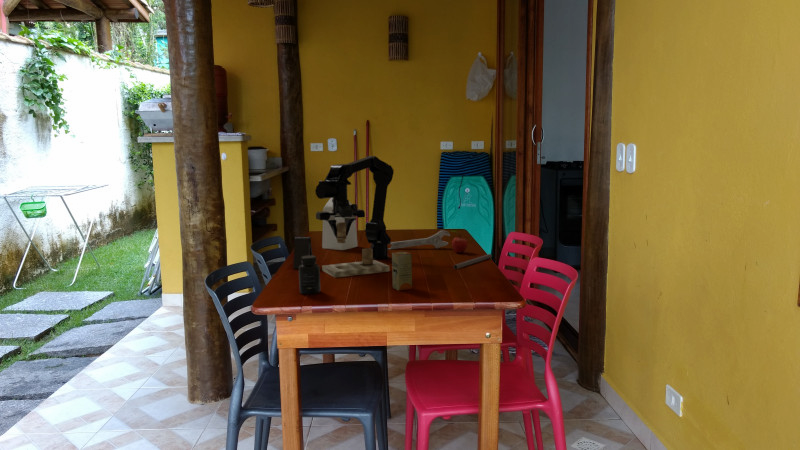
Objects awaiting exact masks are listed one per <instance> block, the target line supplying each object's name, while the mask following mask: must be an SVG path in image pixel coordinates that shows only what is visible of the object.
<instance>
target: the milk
mask: <svg viewBox="0 0 800 450" xmlns="http://www.w3.org/2000/svg"><path fill="white" fill-rule="evenodd" d="M332 199H333V198H328V201H327V202H326V204H325V205H324V207H323V209H322V211H326V212H329V213H333V212H332V210H333V202H332ZM347 200H349V199H348V198H347ZM352 204H353V203H351V202H350V201H349V205H352ZM338 214H339V213H338ZM345 218H346V217H345ZM345 218H342V217H335V220H337V221H336V222H345ZM356 221H357V219H356V220H354V221H353V222H352V224H351V226H350V229H349V232H348V235H347V236H346V239H345V243H337V239H336V237H335V236H334V233H333V231H332V229H331V226H330V225H329V223H328V221H325V220H322V234H321V235H322V236H321V237H322V239H321V240H322V243H321V247H322V249H326V250H327V249H328V250H336V251H338V250H339V251H345V250H348V249H349V250H350V249H353V248H356V247H358V234H357V233H358V232H357V222H356Z"/></svg>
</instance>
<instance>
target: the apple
mask: <svg viewBox="0 0 800 450" xmlns="http://www.w3.org/2000/svg"><path fill="white" fill-rule="evenodd" d="M450 232H451V233H454V232H455V233H457V234H458V236H455V237H453V239H452V241H451V245H452V248H453V251H454V253H455V254H461V253H462V254H463V253H465V251H466V250H467V247H468V240H466V239H465V238H463V237H461V236H462V234H461V233H459V232H458V231H457V230H454V229H453V230H450Z"/></svg>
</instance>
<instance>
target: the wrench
mask: <svg viewBox="0 0 800 450" xmlns="http://www.w3.org/2000/svg"><path fill="white" fill-rule="evenodd" d="M444 236H448V237H451V234H450V232H449V231H446V230H439V231H437V233H435V234H433V235H430V236H429V237H426V238H425V237H424V238H417V239H416V238H415V239H408V240H401V241H392V242H390V244H389V245H391V246H390V247H389V248H388V247H387V250H396V249H403V248H404V249H405V248H410V247H417V246H425V245H430V246H434V248H435V249H438V250H439V248H442V247H445V246H448V244H449V242H447V241H444V240H442V238H443V237H444Z"/></svg>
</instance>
